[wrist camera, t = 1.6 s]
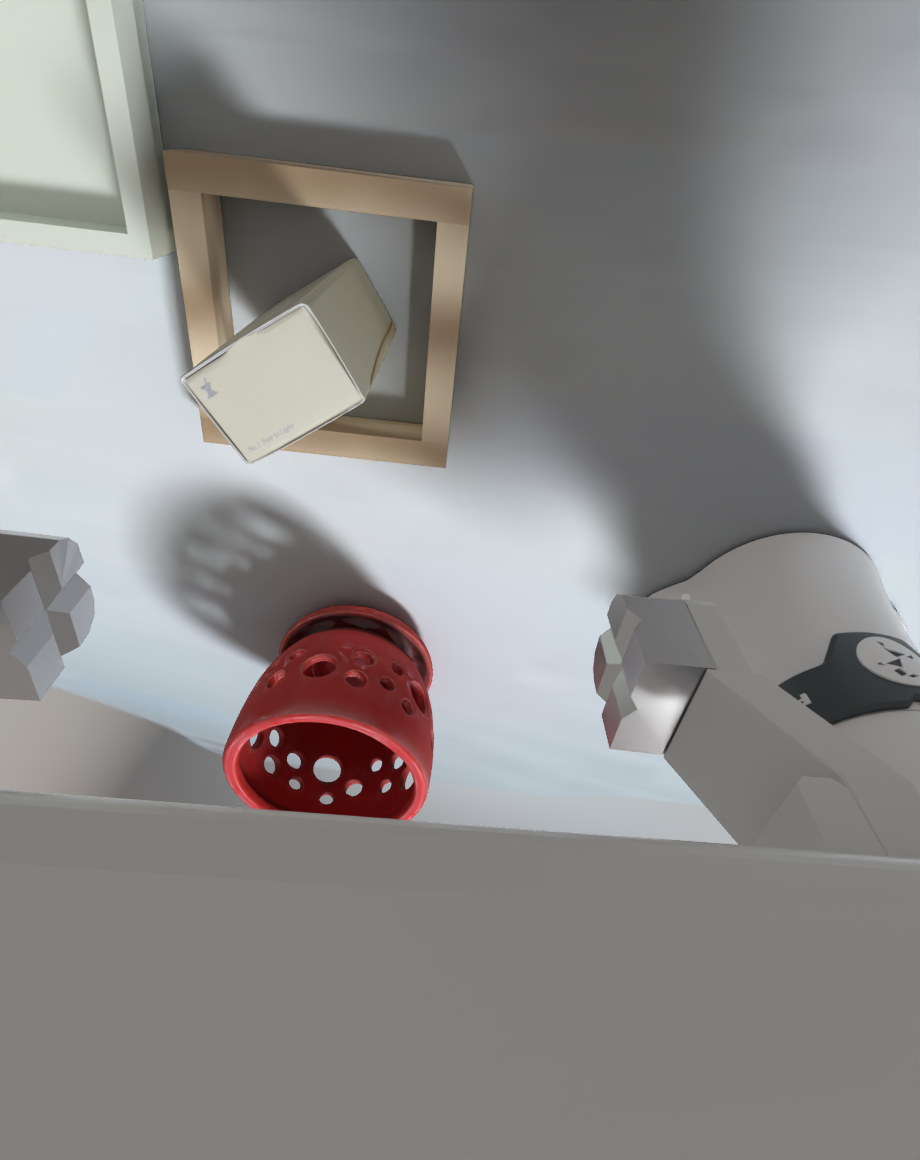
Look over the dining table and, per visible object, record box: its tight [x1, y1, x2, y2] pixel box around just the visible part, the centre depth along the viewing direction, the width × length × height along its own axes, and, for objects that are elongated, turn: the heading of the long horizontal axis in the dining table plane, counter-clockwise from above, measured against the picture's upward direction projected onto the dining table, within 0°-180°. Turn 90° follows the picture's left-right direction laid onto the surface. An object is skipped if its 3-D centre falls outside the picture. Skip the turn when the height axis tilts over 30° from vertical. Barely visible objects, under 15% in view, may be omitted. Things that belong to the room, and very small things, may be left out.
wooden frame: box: [162, 149, 473, 468], centre depth 34 cm, size 14×14×2 cm
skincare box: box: [180, 258, 396, 464], centre depth 30 cm, size 6×4×12 cm
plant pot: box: [222, 605, 434, 820], centre depth 44 cm, size 13×13×12 cm
